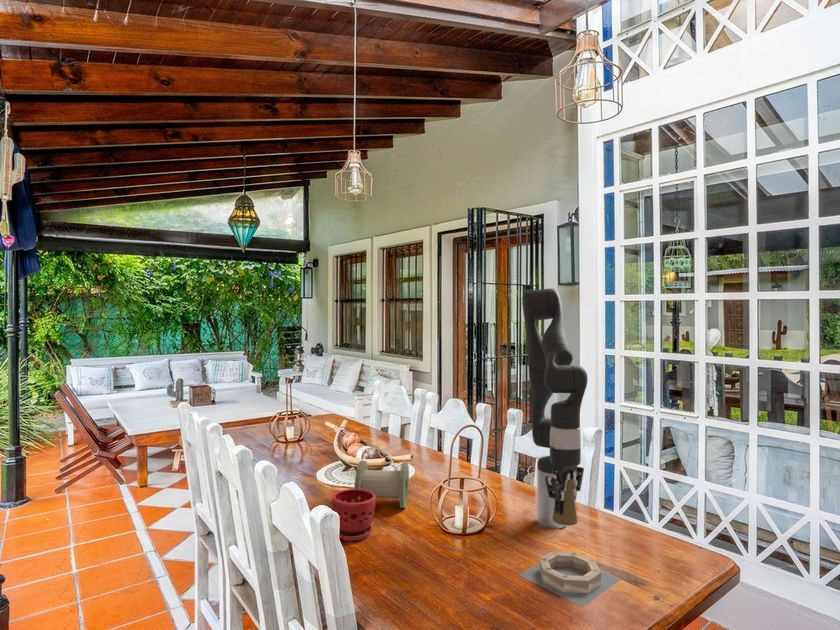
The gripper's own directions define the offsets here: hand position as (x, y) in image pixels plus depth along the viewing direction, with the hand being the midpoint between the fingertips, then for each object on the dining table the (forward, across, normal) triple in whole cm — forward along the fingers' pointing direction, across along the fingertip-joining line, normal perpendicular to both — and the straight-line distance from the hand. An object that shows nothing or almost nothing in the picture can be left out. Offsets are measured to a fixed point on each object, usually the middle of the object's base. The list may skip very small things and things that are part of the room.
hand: (564, 511), depth 126 cm
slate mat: (+17, -1, +1) cm, 17 cm away
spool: (+18, +8, -68) cm, 71 cm away
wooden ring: (+17, -1, +1) cm, 17 cm away
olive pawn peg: (+2, 0, 0) cm, 2 cm away
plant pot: (+17, +27, -56) cm, 64 cm away
